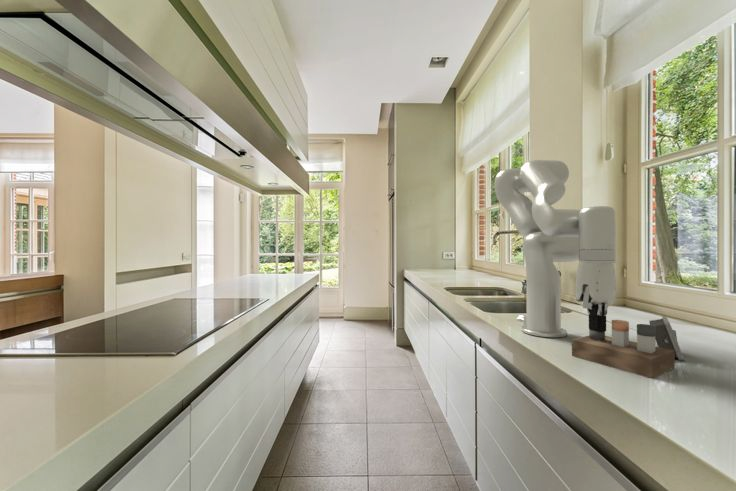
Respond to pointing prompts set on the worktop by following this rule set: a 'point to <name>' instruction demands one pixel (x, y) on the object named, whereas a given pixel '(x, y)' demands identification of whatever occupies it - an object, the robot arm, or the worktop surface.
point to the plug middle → (620, 333)
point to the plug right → (646, 338)
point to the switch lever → (596, 336)
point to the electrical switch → (666, 336)
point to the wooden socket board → (624, 356)
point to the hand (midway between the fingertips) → (597, 330)
